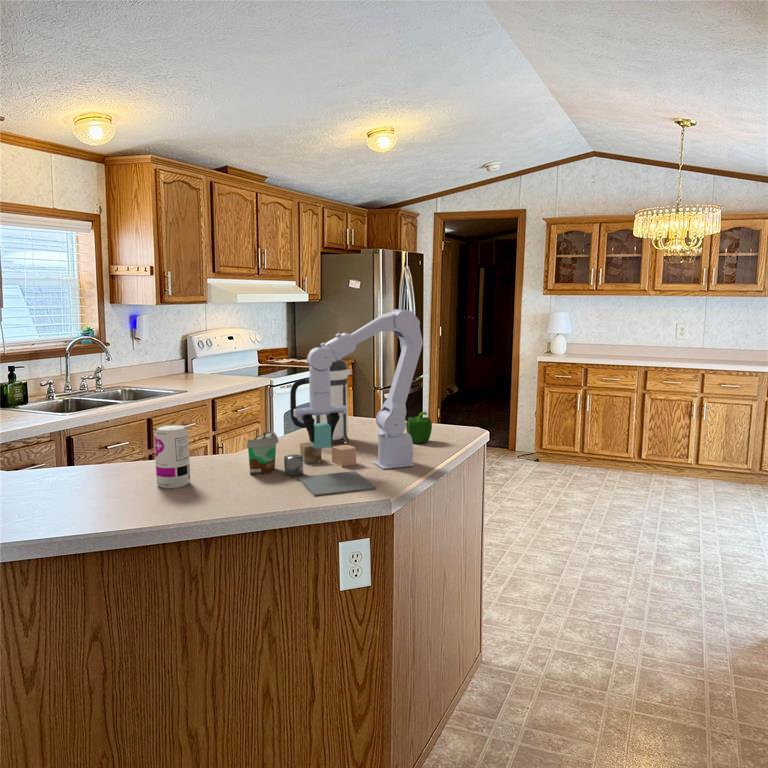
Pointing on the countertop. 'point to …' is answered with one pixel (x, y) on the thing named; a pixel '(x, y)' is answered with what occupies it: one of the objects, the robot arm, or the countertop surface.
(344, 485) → the mat
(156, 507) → the countertop surface
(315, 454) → the walnut block
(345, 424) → the coffee press
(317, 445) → the teal block
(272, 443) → the food container
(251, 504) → the countertop surface
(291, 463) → the metal canister
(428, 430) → the bell pepper
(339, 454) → the terracotta block
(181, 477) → the supplement can
